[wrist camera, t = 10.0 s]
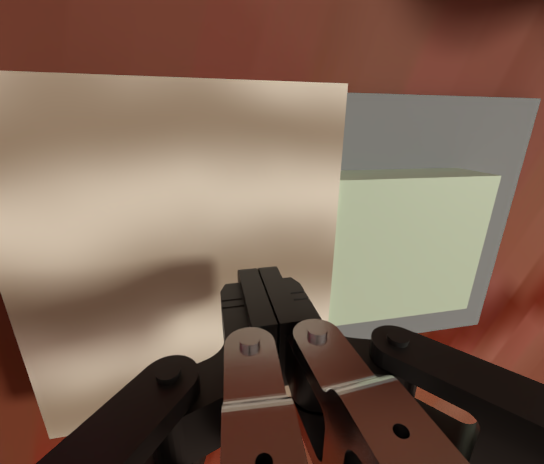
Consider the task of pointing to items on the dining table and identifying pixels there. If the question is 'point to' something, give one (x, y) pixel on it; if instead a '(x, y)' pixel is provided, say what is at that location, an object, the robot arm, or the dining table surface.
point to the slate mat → (441, 166)
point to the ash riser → (153, 217)
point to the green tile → (408, 241)
